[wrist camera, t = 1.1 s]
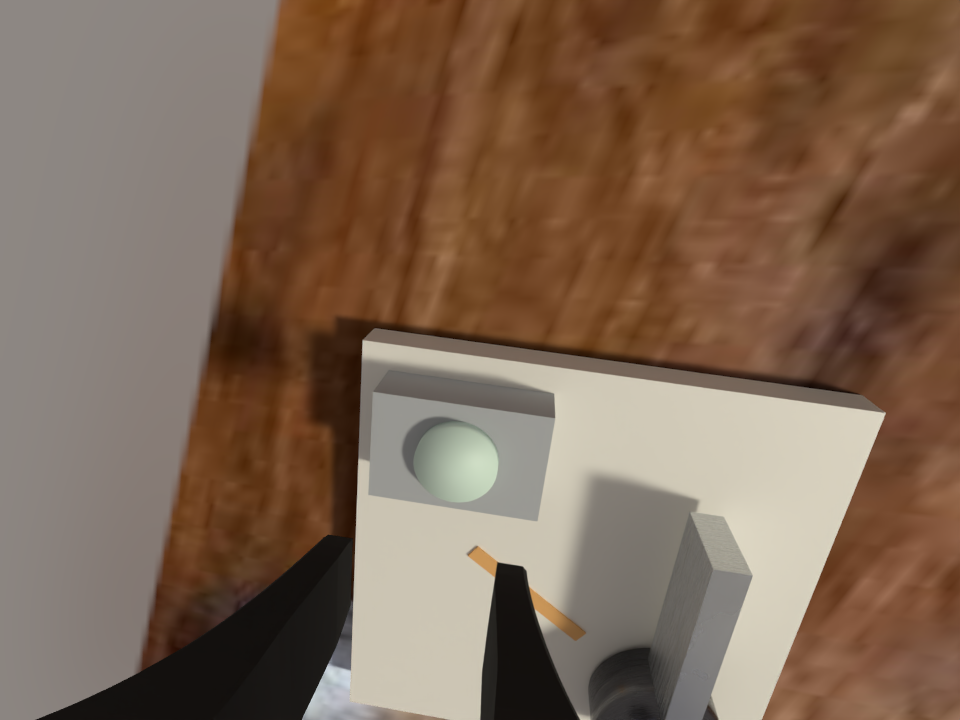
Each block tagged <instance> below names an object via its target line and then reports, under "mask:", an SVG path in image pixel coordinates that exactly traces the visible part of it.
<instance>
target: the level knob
mask: <svg viewBox="0 0 960 720" xmlns="http://www.w3.org/2000/svg"><path fill="white" fill-rule="evenodd" d="M752 577H753V575H752V573H751V571H750V569H749V567H748V565H747V562H746V560H745V558H744V556H743V554H742V552H741V550H740V548H739V546H738V544H737V542H736V540H735V538H734V536H733V534H732V532H731V530H730V528H729V526H728V524H727V522H726V520H725V518H724V517H723V516H716V515H710V514H703V513H697V512H689V516H688V519H687V523H686V526H685V530H684V533H683V537H682V540H681V544H680V547H679V551H678V554H677V558H676V561H675V565H674V568H673V572H672V575H671V579H670V582H669V585H668V589H667V592H666V596H665V599H664V603H663V606H662V610H661V613H660V617H659V620H658V624H657V627H656V631H655V634H654V638H653V641H652V645H651V648H635V649H630V650H626V651H622V652H619V653H617V654H615V655H613V656H611V657H609V658H607V659H606V660H605V661H603V662H602V663H601V664H600V665H599V666H598V667H597V668H596V669H595V671H594V672H593V674H592V676H591V678H590V681H589V686H588V695H589V707H590V720H719V719H718V715H717V712H716V709H715V706H714V702H713V699H712V696H711V694H712V691H713V688H714V685H715V682H716V679H717V677H718V674H719V671H720V668H721V665H722V662H723V659H724V657H725V654H726V651H727V648H728V645H729V642H730V640H731V637H732V634H733V631H734V628H735V625H736V623H737V620H738V617H739V614H740V611H741V608H742V605H743V603H744V600H745V597H746V594H747V591H748V588H749V586H750V583H751V580H752Z"/></svg>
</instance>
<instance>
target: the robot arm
mask: <svg viewBox="0 0 960 720" xmlns="http://www.w3.org/2000/svg"><path fill="white" fill-rule="evenodd" d="M352 545H353V539H352V538H346V537H340V536H333V535H327V536H326V537H324V538H323V539H322V540H321V541H320V542H318V543H317V544H316V545H315V546H314V547H313V548H312V549H311V550H310V551H309V552H308V553H306V554H305V555H304V556H303V557H302V558H301V559H300V560H299V561H298V562H296V563H295V564H294V565H293V566H292V567H291V568H290V569H288V570H287V571H286V572H285V573H284V574H283V575H281V576H280V577H279V578H278V579H277V580H275V581H274V582H273V583H272V584H271V585H269V586H268V587H267V588H266V589H265V590H263V591H262V592H261V593H260V594H258V595H257V596H256V597H255V598H253V599H252V600H251V601H249V602H248V603H247V604H245V605H244V606H243V607H241V608H240V609H239V610H238V611H236V612H235V613H234V614H232V615H231V616H230V617H228V618H227V619H225V620H224V621H223V622H221V623H220V624H218V625H217V626H216V627H214V628H213V629H211V630H210V631H208V632H207V633H205V634H204V635H202V636H201V637H199V638H197V639H196V640H194V641H193V642H191V643H190V644H188V645H187V646H185V647H183V648H182V649H180V650H178V651H177V652H175V653H173V654H171V655H170V656H168V657H166V658H164V659H163V660H161V661H159V662H157V663H156V664H154V665H152V666H150V667H148V668H147V669H145V670H143V671H141V672H140V673H138V674H136V675H134V676H132V677H130V678H128V679H126V680H124V681H122V682H120V683H118V684H116V685H114V686H112V687H110V688H108V689H106V690H103V691H101V692H99V693H97V694H95V695H93V696H91V697H89V698H86V699H84V700H82V701H80V702H78V703H75V704H73V705H71V706H68V707H66V708H64V709H61V710H59V711H56V712H54V713H51V714H49V715H46V716H44V717H42V718H39V719H37V720H302V718H303V716H304V713H305V711H306V709H307V707H308V705H309V703H310V701H311V699H312V697H313V695H314V693H315V690H316V688H317V686H318V684H319V682H320V680H321V678H322V676H323V674H324V672H325V669H326V667H327V665H328V663H329V661H330V659H331V657H332V655H333V652H334V650H335V648H336V646H337V643H338V640H339V637H340V634H341V632H342V629H343V626H344V623H345V620H346V617H347V614H348V611H349V608H350V605H351V575H352ZM480 720H580V719H579V717H578V715H577V713H576V711H575V709H574V707H573V705H572V703H571V701H570V699H569V697H568V695H567V693H566V691H565V688H564V686H563V684H562V682H561V680H560V677H559V675H558V673H557V670H556V668H555V665H554V663H553V661H552V658H551V656H550V653H549V650H548V648H547V645H546V642H545V639H544V637H543V634H542V631H541V628H540V625H539V622H538V619H537V616H536V612H535V609H534V605H533V601H532V598H531V593H530V589H529V584H528V578H527V571H526V570H525V568H524V567H523V566H518V565H512V564H506V563H499V562H497V567H496V574H495V580H494V587H493V594H492V601H491V608H490V614H489V621H488V628H487V636H486V644H485V652H484V660H483V668H482V684H481V713H480Z"/></svg>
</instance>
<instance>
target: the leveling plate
mask: <svg viewBox="0 0 960 720" xmlns="http://www.w3.org/2000/svg"><path fill="white" fill-rule="evenodd" d="M885 414H886V413H885V412H884V411H882V410H881V409H880V408H878V407H877V406H876V405H874V404H873V403H872V402H870V401H869V400H868V399H866V398H865V397H864V396H862V395H857V394H850V393H842V392H835V391H828V390H821V389H813V388H806V387H799V386H792V385H784V384H777V383H770V382H763V381H755V380H748V379H741V378H734V377H726V376H719V375H712V374H705V373H697V372H690V371H683V370H675V369H668V368H661V367H654V366H646V365H639V364H632V363H625V362H617V361H610V360H603V359H596V358H588V357H581V356H574V355H567V354H559V353H552V352H545V351H538V350H530V349H523V348H516V347H509V346H501V345H494V344H487V343H479V342H472V341H465V340H458V339H450V338H443V337H436V336H429V335H421V334H414V333H407V332H400V331H392V330H385V329H378V328H374V329H373V330H372V331H371V332H370V333H369V334H368V335H367V336H366V337H365V338H364V339H363V344H362V373H361V401H360V429H359V458H358V486H357V514H356V542H355V571H354V599H353V627H352V656H351V684H350V702H355V703H361V704H366V705H372V706H377V707H383V708H388V709H394V710H399V711H405V712H410V713H416V714H421V715H427V716H432V717H438V718H443V719H449V720H480V713H481V684H482V668H483V660H484V652H485V644H486V636H487V628H488V621H489V614H490V608H491V601H492V594H493V587H494V580H495V574H496V567H497V562H499V563H506V564H512V565H518V566H523V567H524V568H525V570H526V571H527V578H528V584H529V589H530V593H531V598H532V601H533V605H534V609H535V612H536V616H537V619H538V622H539V625H540V628H541V631H542V634H543V637H544V639H545V642H546V645H547V648H548V650H549V653H550V656H551V658H552V661H553V663H554V665H555V668H556V670H557V673H558V675H559V677H560V680H561V682H562V684H563V686H564V688H565V691H566V693H567V695H568V697H569V699H570V701H571V703H572V705H573V707H574V709H575V711H576V713H577V715H578V717H579V719H580V720H590V707H589V695H588V686H589V681H590V678H591V676H592V674H593V672H594V671H595V669H596V668H597V667H598V666H599V665H600V664H601V663H602V662H603V661H605V660H606V659H607V658H609V657H611V656H613V655H615V654H617V653H619V652H622V651H626V650H630V649H635V648H651V645H652V641H653V638H654V634H655V631H656V627H657V624H658V620H659V617H660V613H661V610H662V606H663V603H664V599H665V596H666V592H667V589H668V585H669V582H670V579H671V575H672V572H673V568H674V565H675V561H676V558H677V554H678V551H679V547H680V544H681V540H682V537H683V533H684V530H685V526H686V523H687V519H688V516H689V512H697V513H703V514H710V515H716V516H723V517H724V518H725V520H726V522H727V524H728V526H729V528H730V530H731V532H732V534H733V536H734V538H735V540H736V542H737V544H738V546H739V548H740V550H741V552H742V554H743V556H744V558H745V560H746V562H747V565H748V567H749V569H750V571H751V573H752V575H753V577H752V580H751V583H750V586H749V588H748V591H747V594H746V597H745V600H744V603H743V605H742V608H741V611H740V614H739V617H738V620H737V623H736V625H735V628H734V631H733V634H732V637H731V640H730V642H729V645H728V648H727V651H726V654H725V657H724V659H723V662H722V665H721V668H720V671H719V674H718V677H717V679H716V682H715V685H714V688H713V691H712V694H711V696H712V699H713V702H714V706H715V709H716V712H717V715H718V719H719V720H762V717H763V715H764V713H765V710H766V708H767V705H768V703H769V700H770V698H771V695H772V693H773V690H774V688H775V685H776V683H777V680H778V678H779V675H780V673H781V671H782V668H783V666H784V663H785V661H786V658H787V656H788V653H789V651H790V648H791V646H792V643H793V641H794V638H795V636H796V634H797V631H798V629H799V626H800V624H801V621H802V619H803V616H804V614H805V611H806V609H807V606H808V604H809V601H810V599H811V596H812V594H813V592H814V589H815V587H816V584H817V582H818V579H819V577H820V574H821V572H822V569H823V567H824V564H825V562H826V559H827V557H828V554H829V552H830V550H831V547H832V545H833V542H834V540H835V537H836V535H837V532H838V530H839V527H840V525H841V522H842V520H843V517H844V515H845V512H846V510H847V508H848V505H849V503H850V500H851V498H852V495H853V493H854V490H855V488H856V485H857V483H858V480H859V478H860V475H861V473H862V471H863V468H864V466H865V463H866V461H867V458H868V456H869V453H870V451H871V448H872V446H873V443H874V441H875V438H876V436H877V433H878V431H879V429H880V426H881V424H882V421H883V419H884V416H885Z"/></svg>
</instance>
